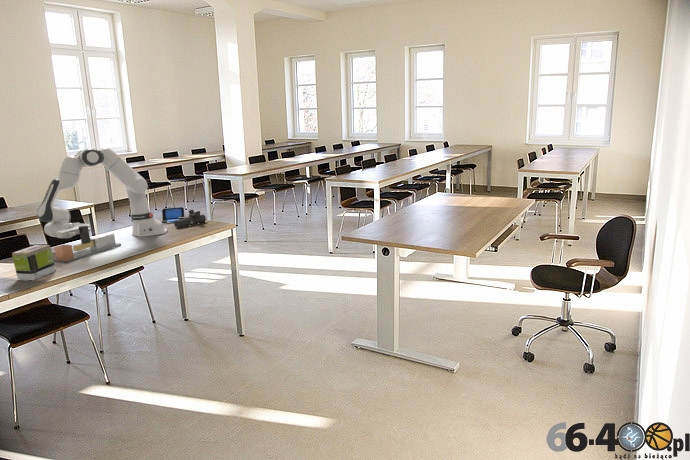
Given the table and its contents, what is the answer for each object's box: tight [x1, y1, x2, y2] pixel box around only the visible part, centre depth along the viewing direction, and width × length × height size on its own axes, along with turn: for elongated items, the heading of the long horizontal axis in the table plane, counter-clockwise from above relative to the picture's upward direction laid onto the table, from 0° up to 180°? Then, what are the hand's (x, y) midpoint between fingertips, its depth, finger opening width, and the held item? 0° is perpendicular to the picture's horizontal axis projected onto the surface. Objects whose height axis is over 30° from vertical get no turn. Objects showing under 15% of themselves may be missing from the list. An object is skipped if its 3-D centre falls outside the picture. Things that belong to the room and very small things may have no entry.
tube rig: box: [53, 232, 122, 264], centre depth 308 cm, size 38×12×8 cm, turn 155°
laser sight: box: [173, 209, 207, 229], centre depth 369 cm, size 10×22×10 cm, turn 135°
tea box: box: [11, 244, 57, 281], centre depth 268 cm, size 15×10×15 cm, turn 163°
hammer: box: [72, 225, 95, 252], centre depth 311 cm, size 25×4×13 cm, turn 155°
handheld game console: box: [161, 206, 185, 223], centre depth 386 cm, size 16×13×9 cm
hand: (82, 231), depth 307 cm, fingers open, 8 cm apart
